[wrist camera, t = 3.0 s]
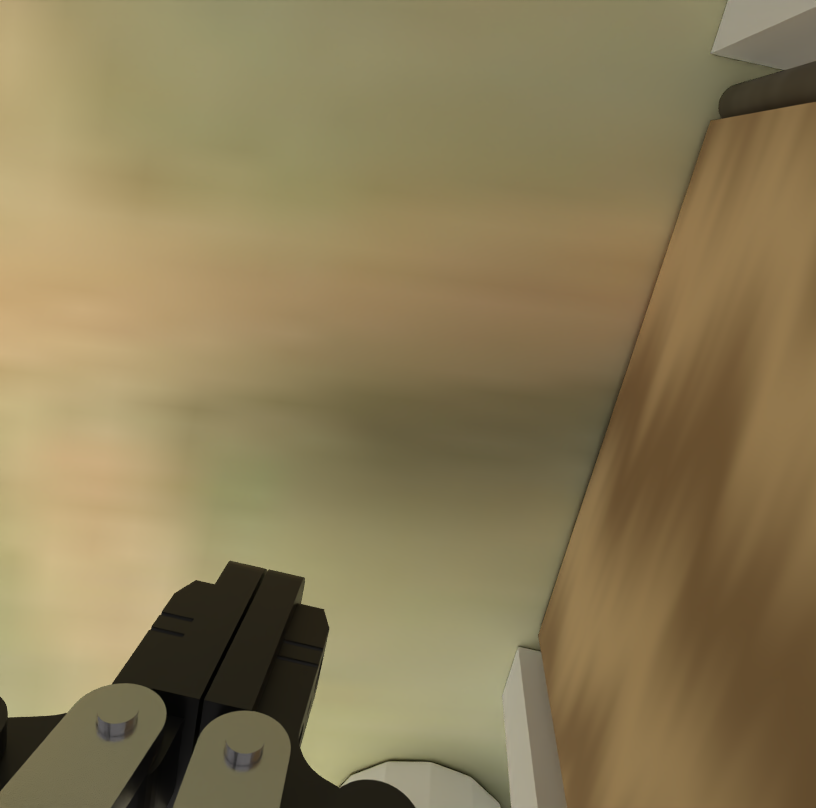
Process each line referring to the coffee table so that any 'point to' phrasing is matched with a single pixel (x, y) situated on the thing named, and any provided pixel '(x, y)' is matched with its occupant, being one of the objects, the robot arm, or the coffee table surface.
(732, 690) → the door
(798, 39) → the door frame
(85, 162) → the coffee table surface
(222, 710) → the robot arm
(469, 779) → the white cup
